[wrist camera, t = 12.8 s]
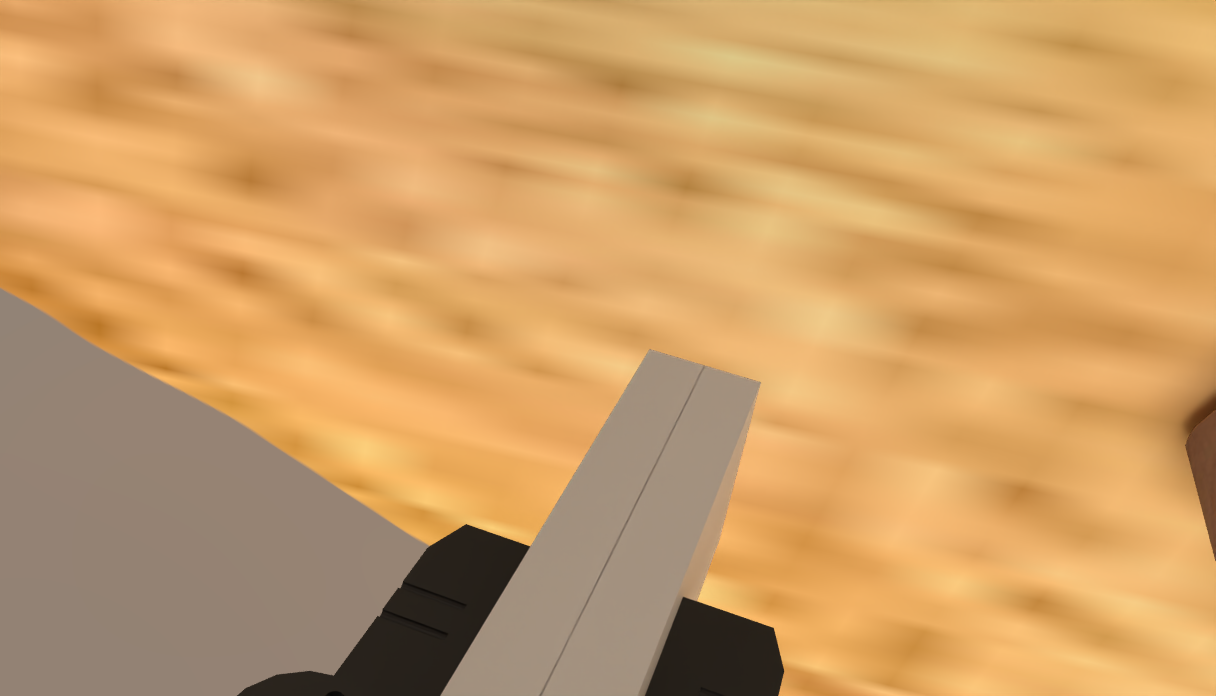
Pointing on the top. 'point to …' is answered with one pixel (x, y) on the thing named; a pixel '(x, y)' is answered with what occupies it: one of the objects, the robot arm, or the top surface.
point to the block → (1205, 470)
